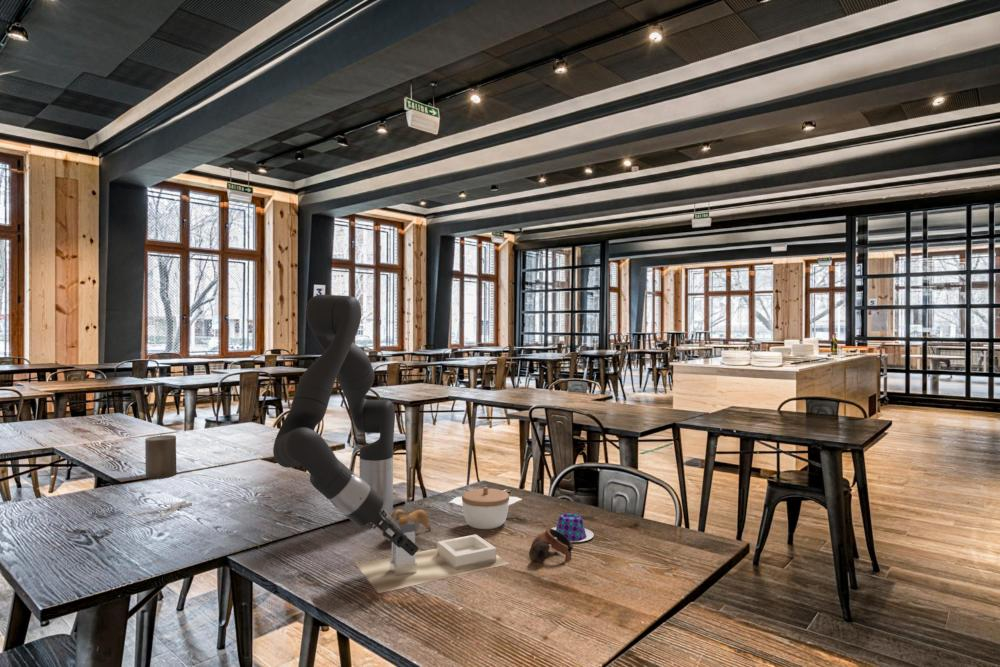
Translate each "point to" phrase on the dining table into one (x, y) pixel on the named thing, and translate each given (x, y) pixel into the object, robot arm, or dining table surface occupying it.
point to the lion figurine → (413, 518)
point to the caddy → (466, 551)
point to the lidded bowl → (485, 507)
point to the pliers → (171, 510)
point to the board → (427, 571)
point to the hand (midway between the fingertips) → (412, 548)
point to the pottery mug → (544, 539)
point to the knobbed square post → (400, 557)
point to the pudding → (573, 528)
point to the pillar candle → (160, 456)
